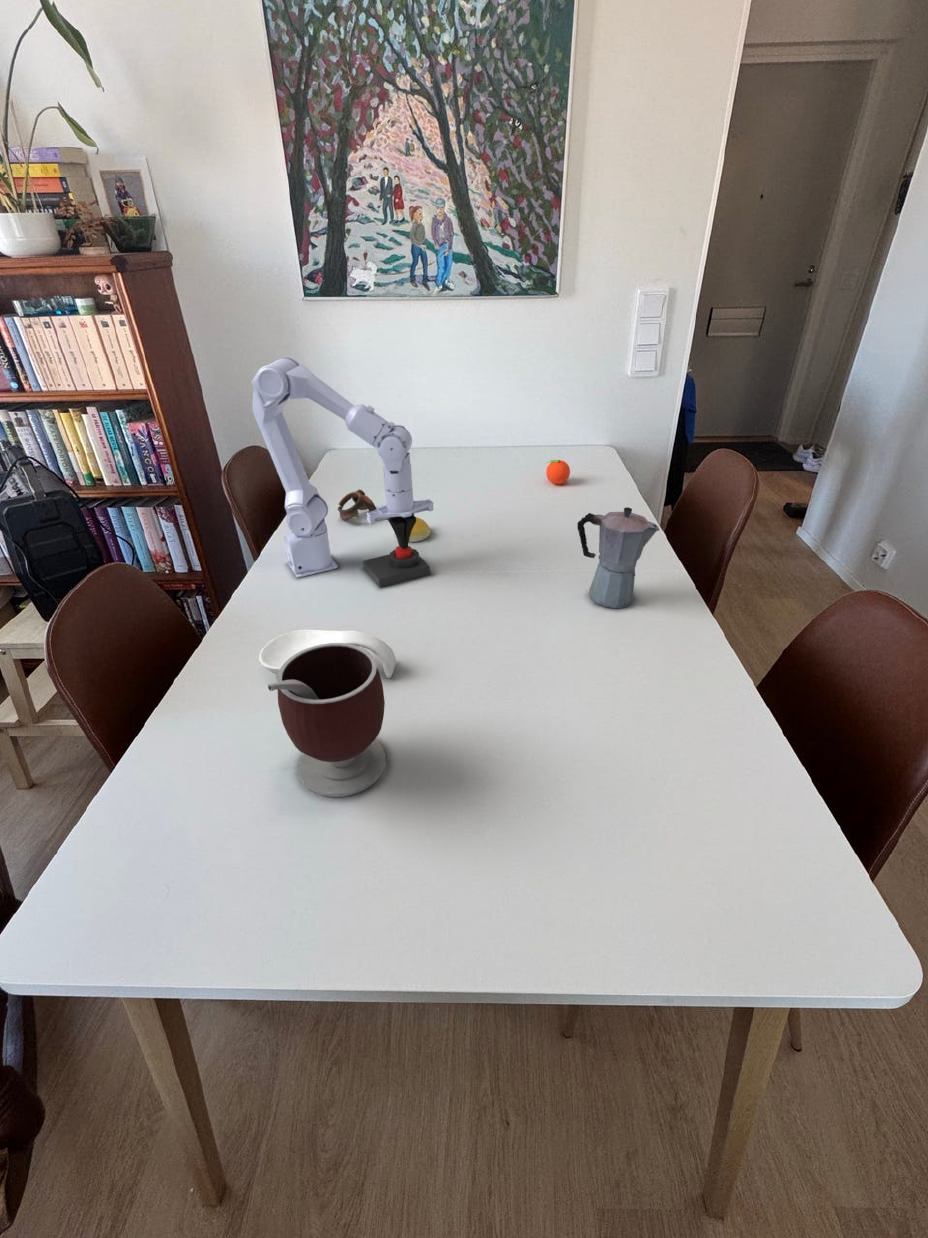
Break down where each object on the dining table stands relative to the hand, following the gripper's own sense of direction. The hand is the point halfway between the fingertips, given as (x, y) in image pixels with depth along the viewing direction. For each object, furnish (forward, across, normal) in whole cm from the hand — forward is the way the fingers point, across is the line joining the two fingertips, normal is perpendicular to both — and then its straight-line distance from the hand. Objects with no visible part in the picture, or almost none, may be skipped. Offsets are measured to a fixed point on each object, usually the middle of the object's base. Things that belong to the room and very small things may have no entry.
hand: (403, 546), depth 138 cm
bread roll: (+6, +9, +16) cm, 19 cm away
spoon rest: (+6, -26, -27) cm, 38 cm away
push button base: (+6, -2, 0) cm, 6 cm away
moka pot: (+6, +32, -32) cm, 46 cm away
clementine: (+6, +60, +28) cm, 66 cm away
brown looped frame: (+6, +1, +33) cm, 33 cm away
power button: (+2, 0, 0) cm, 2 cm away
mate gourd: (+6, -32, -51) cm, 61 cm away
